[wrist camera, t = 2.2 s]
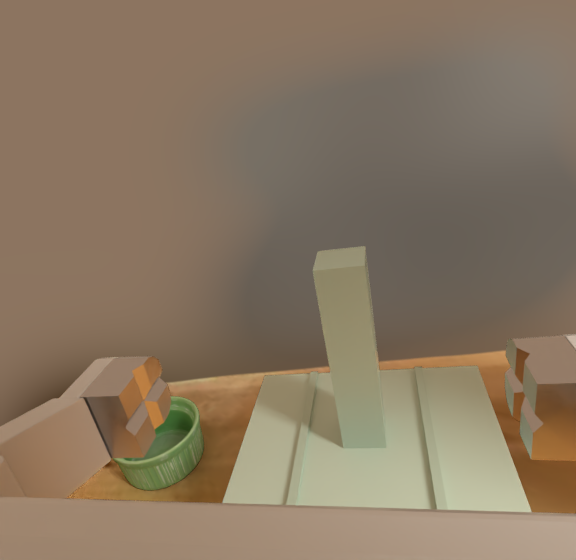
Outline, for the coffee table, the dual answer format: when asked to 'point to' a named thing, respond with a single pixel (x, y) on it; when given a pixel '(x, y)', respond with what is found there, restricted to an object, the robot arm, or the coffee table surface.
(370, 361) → the grooved base with post
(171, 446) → the ramekin
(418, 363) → the coffee table surface
